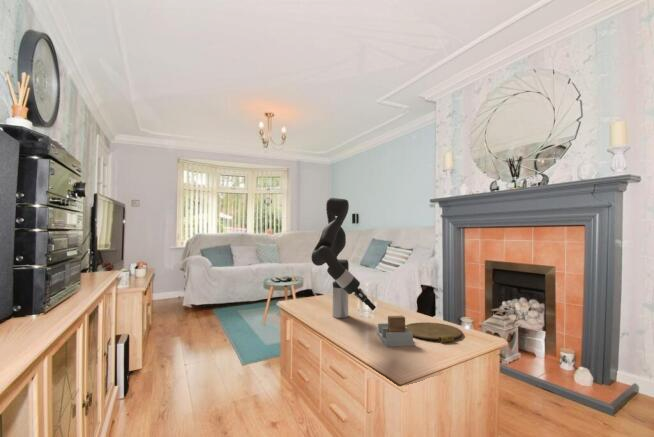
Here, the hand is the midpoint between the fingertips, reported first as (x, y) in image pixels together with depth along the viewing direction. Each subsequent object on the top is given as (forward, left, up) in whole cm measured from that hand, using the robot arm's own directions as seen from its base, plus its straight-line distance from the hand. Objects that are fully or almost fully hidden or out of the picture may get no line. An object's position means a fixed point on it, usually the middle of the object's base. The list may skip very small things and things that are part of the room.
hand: (372, 306), depth 142 cm
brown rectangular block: (0, +11, -15) cm, 19 cm away
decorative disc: (-11, +34, -17) cm, 39 cm away
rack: (-3, +12, -17) cm, 20 cm away
